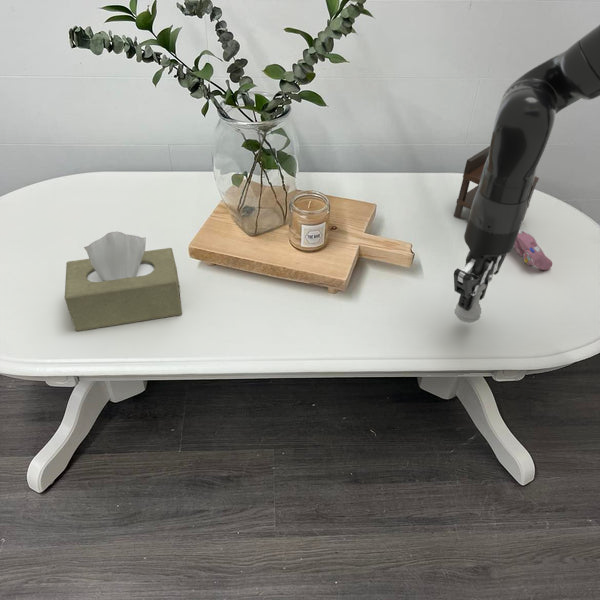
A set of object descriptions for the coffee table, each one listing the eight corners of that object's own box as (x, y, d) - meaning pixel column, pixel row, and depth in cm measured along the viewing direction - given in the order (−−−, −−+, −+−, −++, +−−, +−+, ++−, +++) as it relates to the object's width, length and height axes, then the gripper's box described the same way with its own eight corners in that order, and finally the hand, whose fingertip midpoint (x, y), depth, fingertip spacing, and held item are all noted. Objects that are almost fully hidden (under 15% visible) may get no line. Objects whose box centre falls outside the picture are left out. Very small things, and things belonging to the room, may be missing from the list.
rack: (523, 221, 127) (543, 164, 118) (500, 239, 122) (519, 182, 112) (477, 199, 133) (492, 144, 124) (452, 216, 128) (466, 159, 118)
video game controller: (507, 250, 121) (502, 229, 116) (526, 239, 121) (522, 217, 116) (534, 280, 115) (530, 258, 110) (555, 268, 114) (551, 246, 109)
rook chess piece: (448, 310, 100) (457, 275, 95) (470, 304, 101) (480, 269, 96) (462, 327, 97) (472, 291, 92) (485, 320, 98) (496, 285, 93)
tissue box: (178, 280, 109) (167, 211, 99) (184, 314, 103) (173, 244, 92) (75, 295, 106) (52, 224, 95) (74, 332, 99) (49, 261, 88)
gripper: (492, 248, 80) (466, 334, 91) (541, 209, 87) (511, 293, 99) (447, 226, 84) (428, 311, 95) (497, 190, 91) (474, 273, 103)
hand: (470, 301), depth 97 cm, fingers closed on rook chess piece, 3 cm apart
